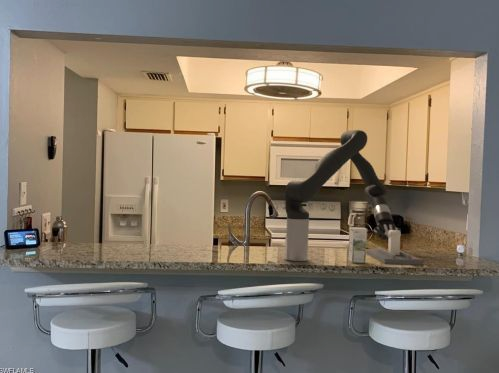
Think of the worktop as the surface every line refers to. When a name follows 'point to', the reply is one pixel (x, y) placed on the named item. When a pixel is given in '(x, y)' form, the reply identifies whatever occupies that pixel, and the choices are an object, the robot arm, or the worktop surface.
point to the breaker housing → (393, 257)
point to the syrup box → (357, 244)
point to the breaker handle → (394, 241)
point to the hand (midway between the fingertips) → (391, 245)
